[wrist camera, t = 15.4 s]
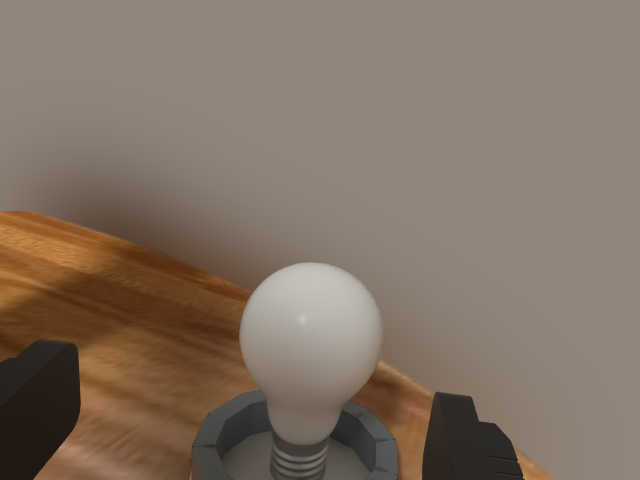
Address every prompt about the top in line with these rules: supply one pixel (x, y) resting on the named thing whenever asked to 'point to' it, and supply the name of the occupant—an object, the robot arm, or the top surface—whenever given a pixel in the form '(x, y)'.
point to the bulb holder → (256, 439)
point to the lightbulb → (308, 358)
